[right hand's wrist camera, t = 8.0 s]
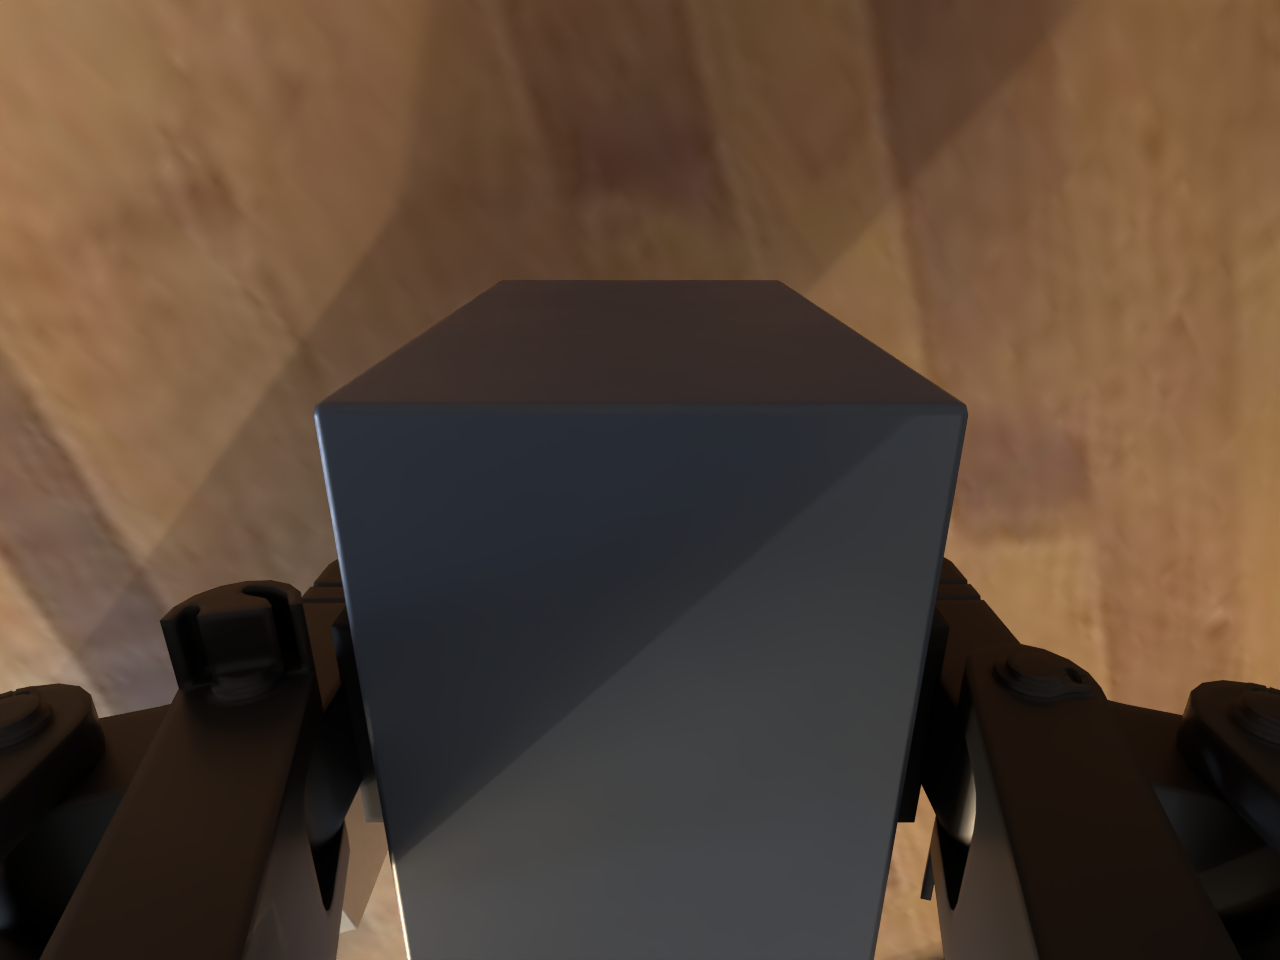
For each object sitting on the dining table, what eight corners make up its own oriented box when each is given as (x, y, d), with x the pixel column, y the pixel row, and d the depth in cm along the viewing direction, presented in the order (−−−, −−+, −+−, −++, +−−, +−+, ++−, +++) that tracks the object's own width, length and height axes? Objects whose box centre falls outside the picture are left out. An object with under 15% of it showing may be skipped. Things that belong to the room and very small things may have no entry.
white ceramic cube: (299, 852, 33) (244, 960, 28) (241, 771, 31) (172, 871, 27) (398, 824, 33) (358, 929, 28) (345, 739, 31) (292, 836, 26)
